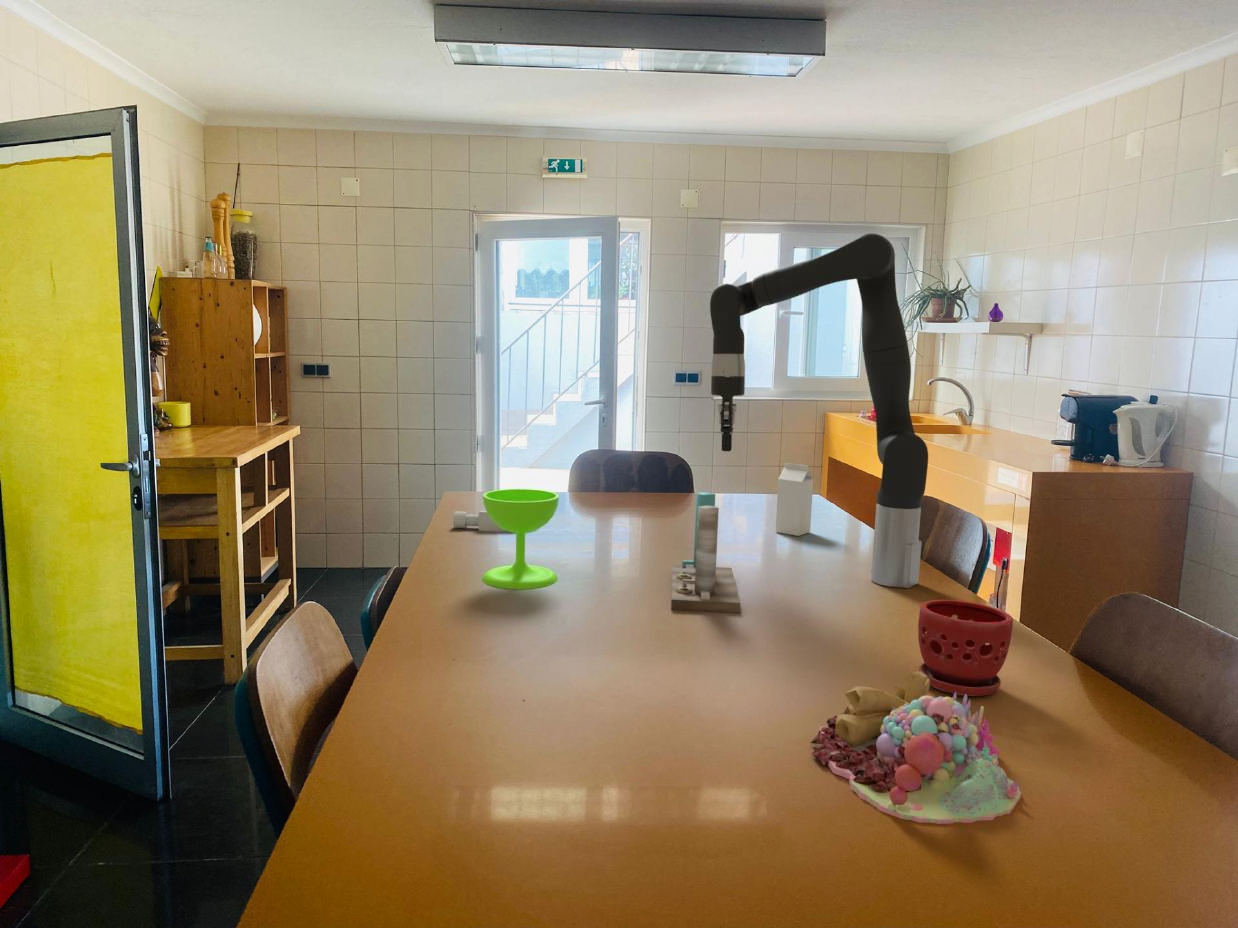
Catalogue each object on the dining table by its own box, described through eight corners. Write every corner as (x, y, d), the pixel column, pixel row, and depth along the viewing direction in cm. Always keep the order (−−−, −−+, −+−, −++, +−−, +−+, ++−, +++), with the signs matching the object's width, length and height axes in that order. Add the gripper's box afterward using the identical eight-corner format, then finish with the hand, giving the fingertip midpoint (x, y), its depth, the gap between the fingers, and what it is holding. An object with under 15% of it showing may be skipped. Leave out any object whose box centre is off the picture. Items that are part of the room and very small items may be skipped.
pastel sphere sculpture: (778, 740, 112) (781, 673, 110) (916, 712, 122) (921, 650, 120) (918, 843, 89) (925, 760, 88) (1074, 799, 99) (1082, 723, 98)
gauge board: (672, 573, 190) (675, 489, 188) (731, 576, 189) (735, 491, 187) (671, 609, 165) (674, 512, 162) (739, 612, 164) (744, 515, 161)
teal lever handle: (682, 565, 187) (685, 491, 184) (711, 566, 186) (715, 492, 184) (682, 570, 183) (685, 494, 181) (712, 571, 182) (715, 495, 180)
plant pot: (1015, 706, 124) (1023, 626, 122) (920, 697, 126) (926, 618, 125) (995, 673, 136) (1002, 600, 135) (908, 665, 139) (914, 593, 137)
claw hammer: (471, 495, 257) (452, 511, 227) (545, 498, 257) (536, 513, 227) (471, 513, 258) (452, 531, 228) (545, 516, 258) (536, 534, 228)
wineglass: (563, 570, 190) (564, 490, 188) (550, 591, 175) (552, 503, 172) (492, 566, 192) (493, 487, 189) (473, 586, 176) (473, 500, 174)
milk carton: (798, 536, 232) (803, 467, 229) (775, 532, 236) (778, 464, 233) (810, 532, 237) (814, 464, 235) (786, 528, 242) (790, 461, 239)
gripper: (712, 374, 201) (711, 448, 203) (709, 374, 188) (708, 453, 190) (745, 375, 200) (743, 449, 202) (744, 374, 187) (742, 453, 189)
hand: (726, 450), depth 196 cm, fingers closed
